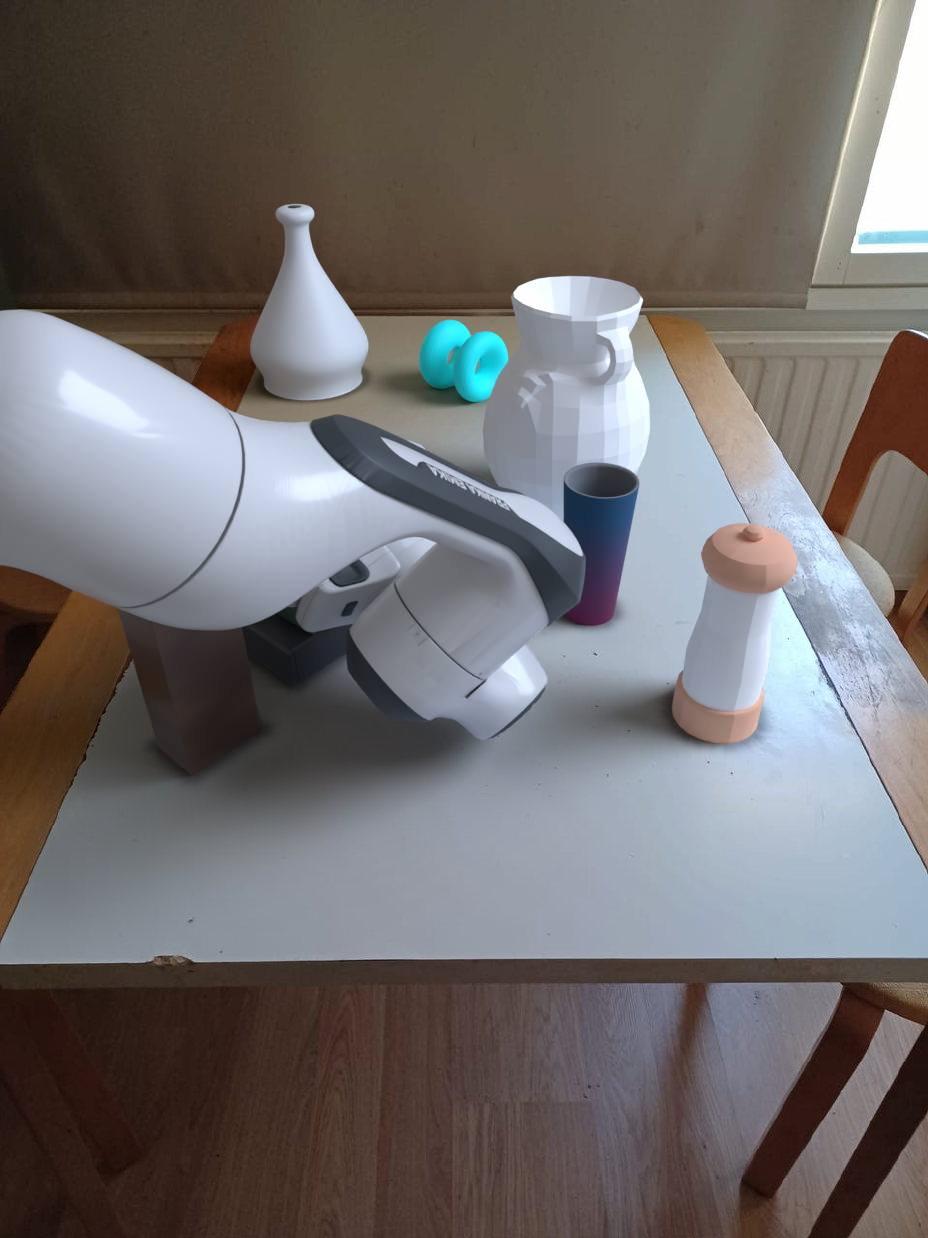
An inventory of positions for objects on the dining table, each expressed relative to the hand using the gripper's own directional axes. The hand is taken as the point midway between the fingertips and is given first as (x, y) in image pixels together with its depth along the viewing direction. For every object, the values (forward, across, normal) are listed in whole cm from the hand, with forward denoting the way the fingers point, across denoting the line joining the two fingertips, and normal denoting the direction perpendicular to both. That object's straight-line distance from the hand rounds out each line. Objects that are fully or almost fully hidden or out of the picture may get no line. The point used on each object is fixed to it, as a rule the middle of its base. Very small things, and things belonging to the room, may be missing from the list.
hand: (290, 447), depth 77 cm
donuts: (+14, -52, +31) cm, 62 cm away
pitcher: (-13, -35, +15) cm, 40 cm away
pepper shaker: (-41, -15, -1) cm, 43 cm away
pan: (-6, 0, +19) cm, 20 cm away
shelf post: (-14, +16, +14) cm, 26 cm away
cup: (-26, -20, +8) cm, 34 cm away
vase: (+31, -40, +41) cm, 65 cm away
